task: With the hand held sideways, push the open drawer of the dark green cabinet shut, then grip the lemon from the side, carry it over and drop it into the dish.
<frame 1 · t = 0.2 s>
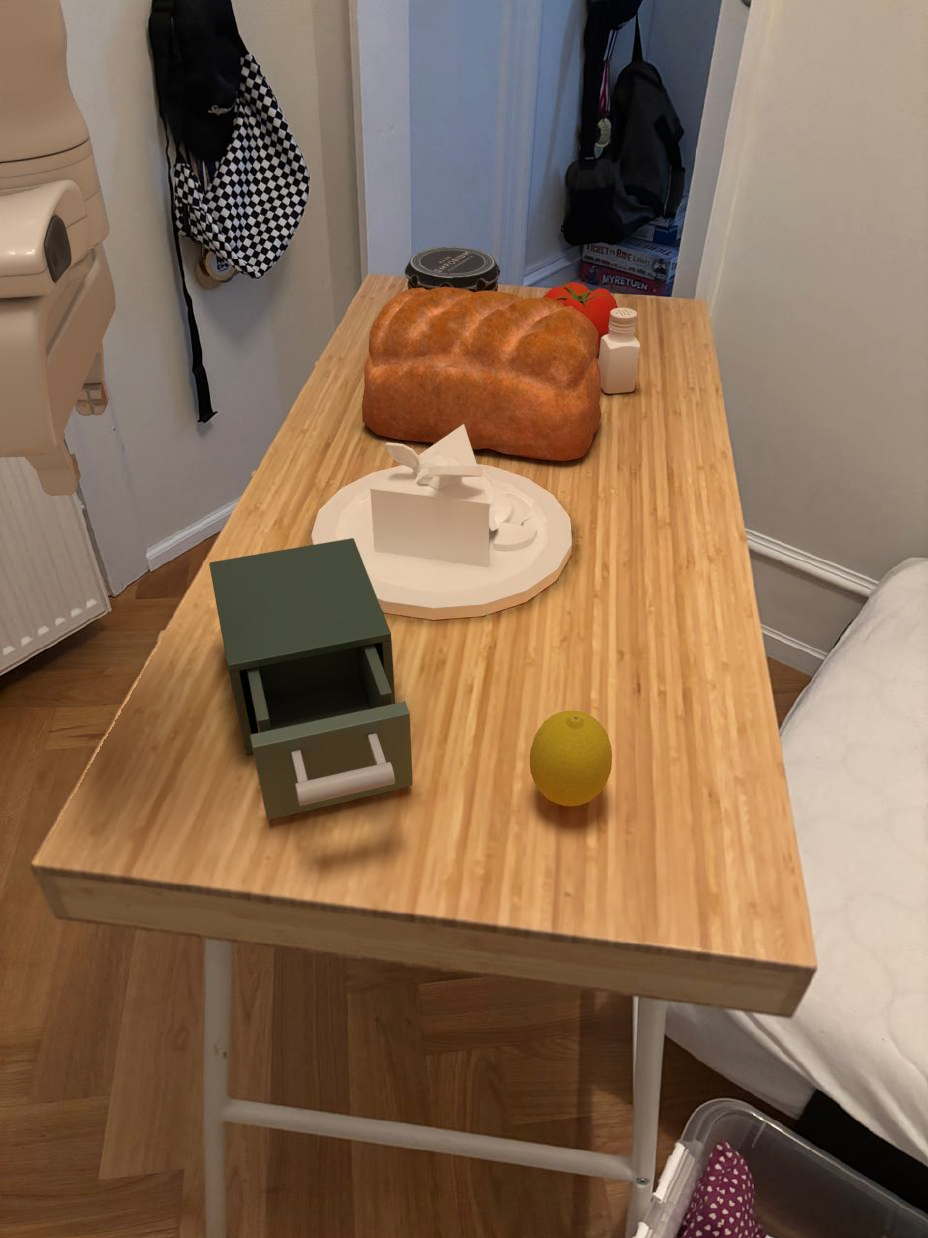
hand: (80, 447, 56), 24 cm above the table, tool pointing down, fingers open, 8 cm apart
cabinet: (307, 683, 75), on the table
lemon: (566, 799, 66), on the table
tomato: (575, 346, 126), on the table
bread: (481, 427, 108), on the table
pepper shaker: (614, 388, 116), on the table
drawer: (326, 729, 65), point 4 cm above the table, slide at 6.0 cm
dish: (442, 539, 91), on the table
container: (452, 334, 129), on the table
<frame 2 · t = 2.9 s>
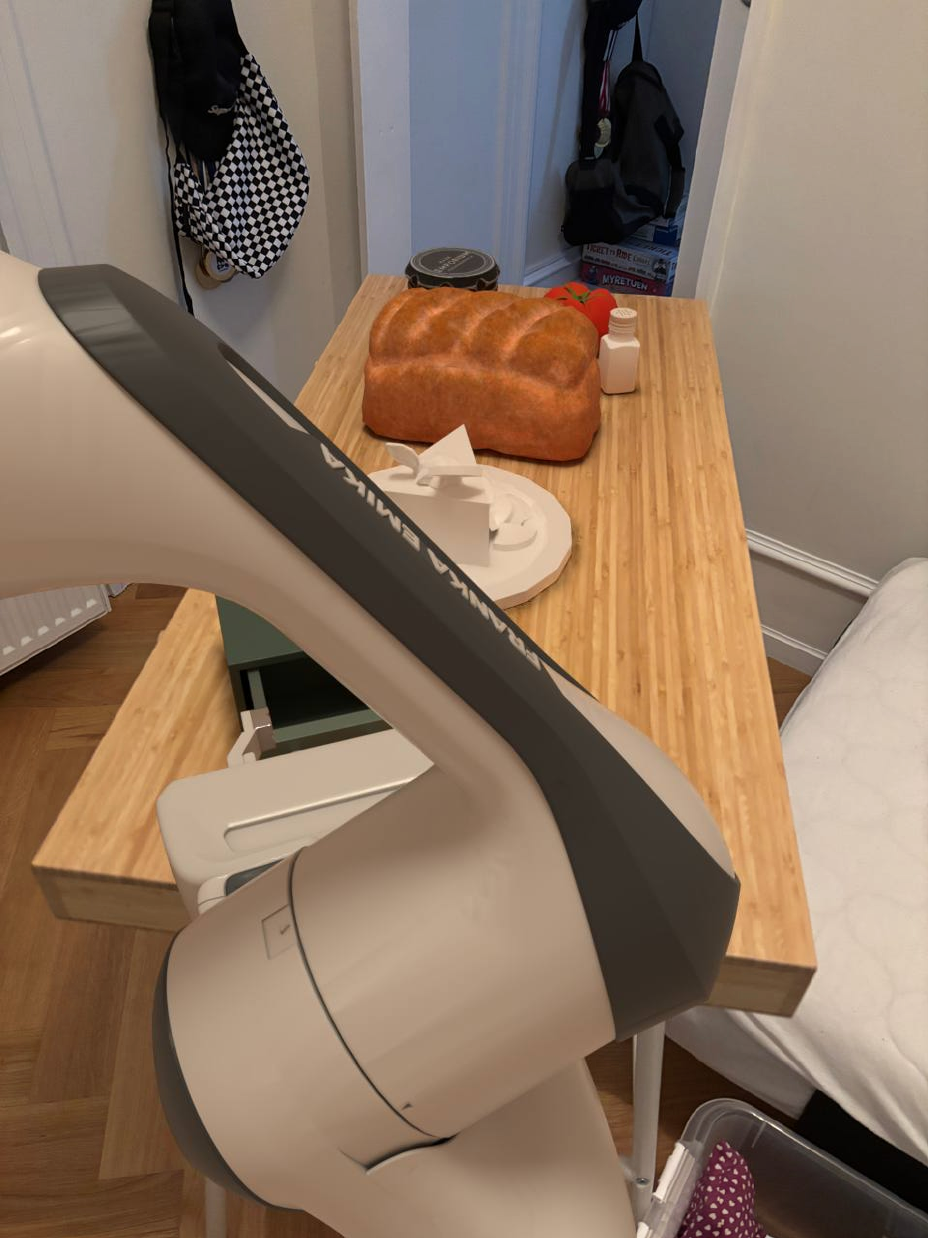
hand: (341, 698, 52), 15 cm above the table, tool horizontal, fingers open, 8 cm apart
nothing on the table moved.
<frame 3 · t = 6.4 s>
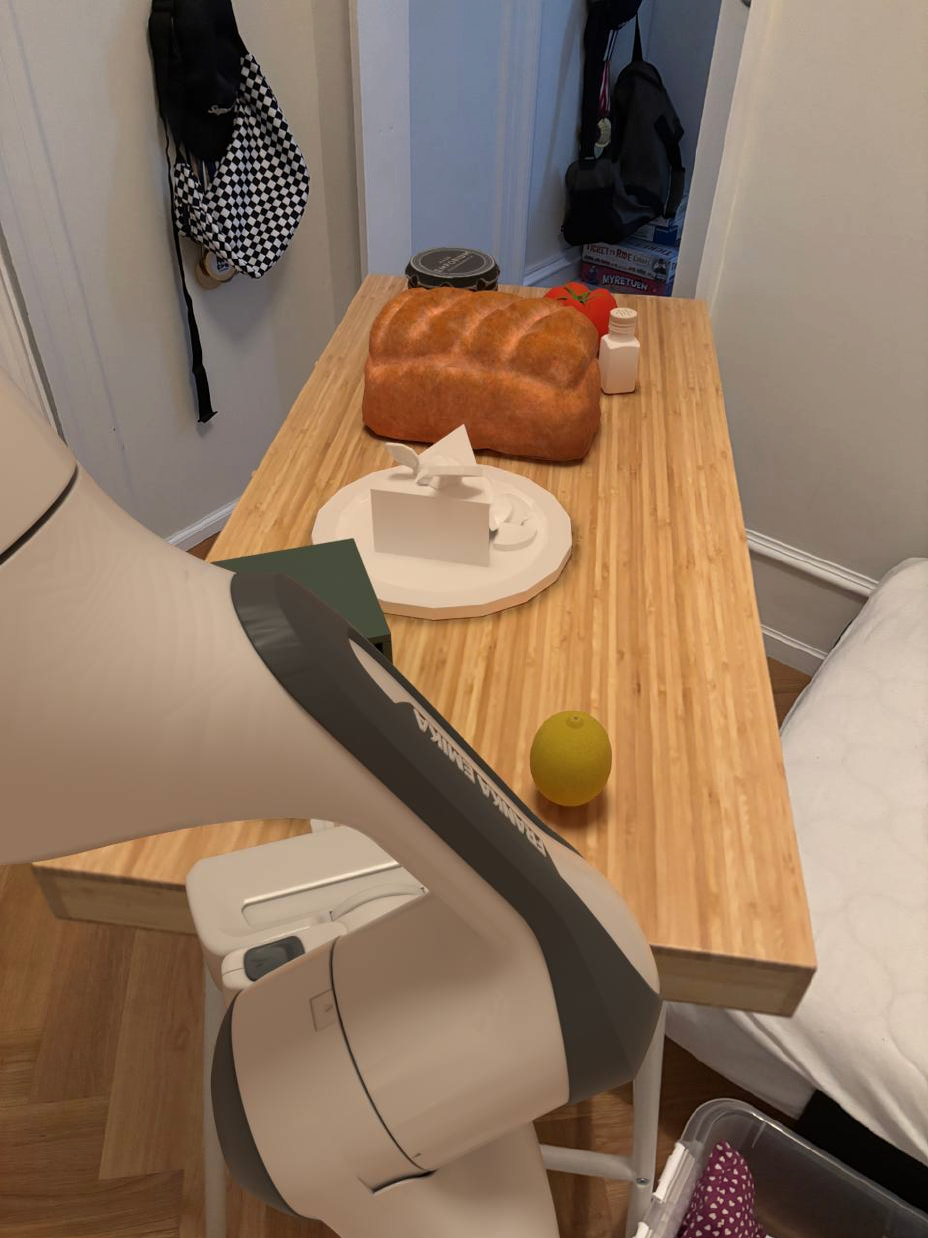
hand: (340, 781, 60), 5 cm above the table, tool horizontal, fingers closed
drawer: (322, 716, 66), point 4 cm above the table, slide at 4.7 cm
everything else where it was.
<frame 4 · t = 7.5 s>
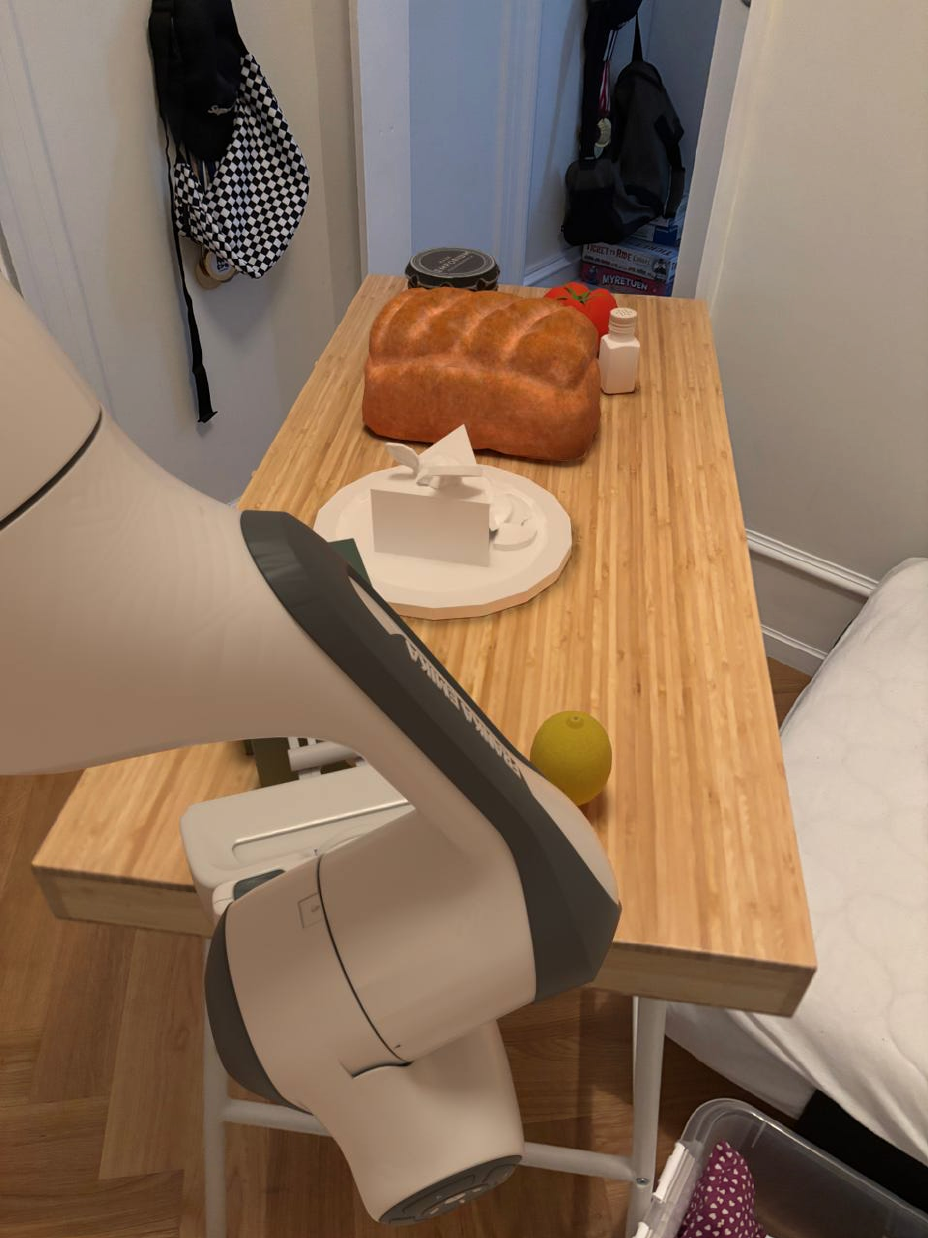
hand: (327, 735, 64), 5 cm above the table, tool horizontal, fingers closed, pressing on drawer
drawer: (318, 701, 67), point 4 cm above the table, slide at 3.1 cm, touching gripper
everything else where it was.
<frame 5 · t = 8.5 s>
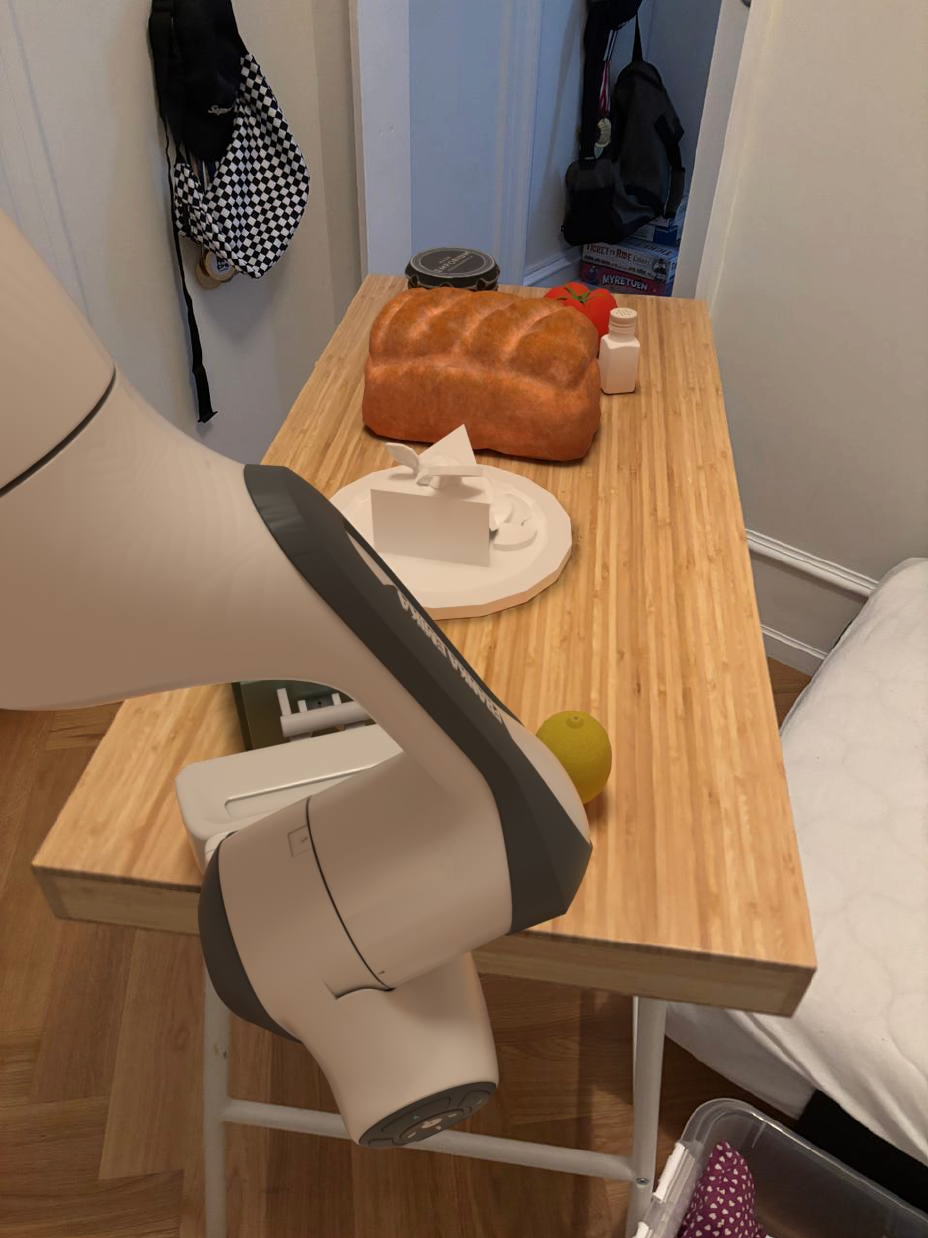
hand: (318, 703, 66), 5 cm above the table, tool horizontal, fingers closed, pressing on drawer
drawer: (310, 673, 69), point 4 cm above the table, slide at 0.0 cm, touching cabinet, gripper
everything else where it was.
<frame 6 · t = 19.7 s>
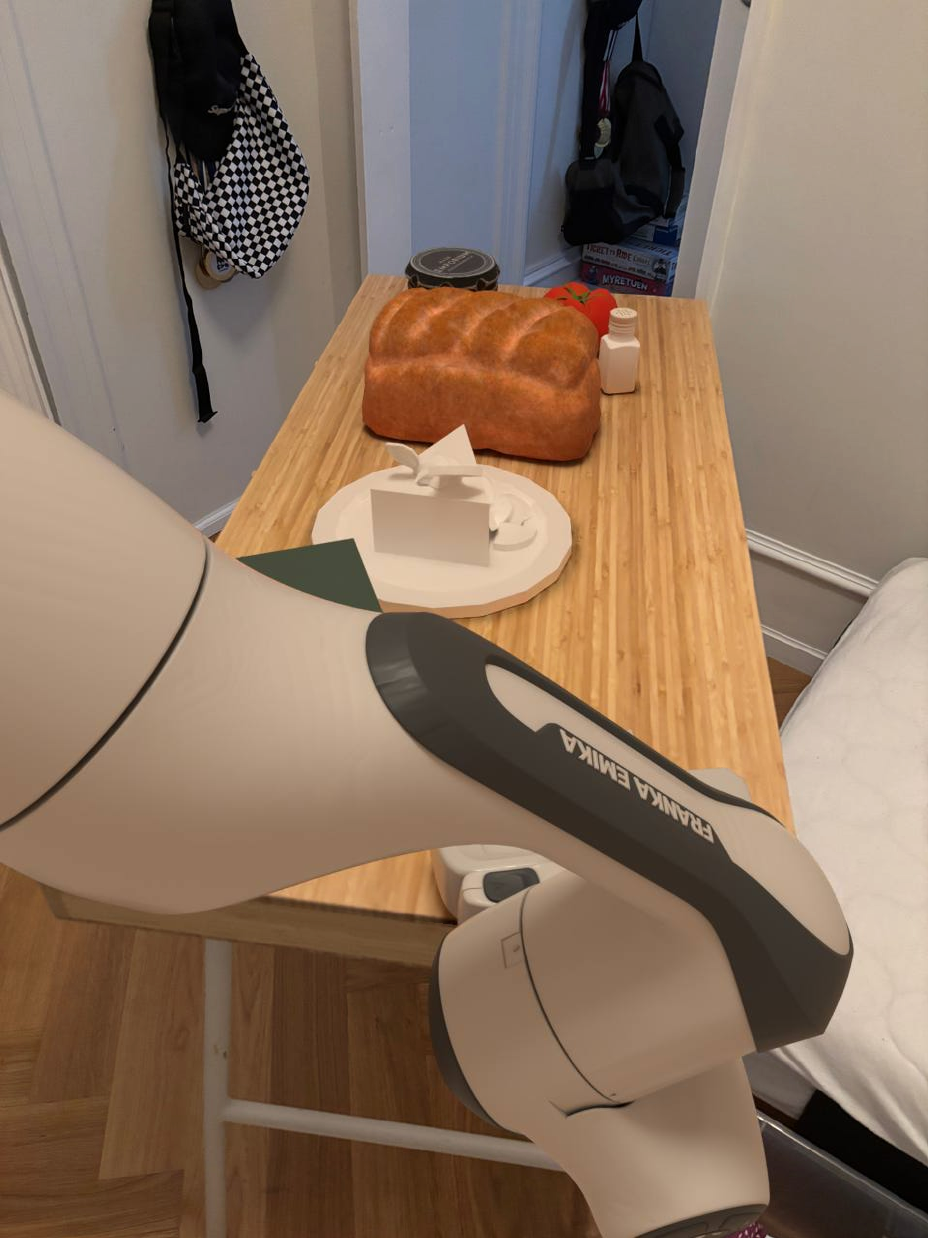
hand: (568, 739, 63), 5 cm above the table, tool horizontal, fingers closed on lemon, 5 cm apart
lemon: (566, 799, 66), on the table, touching gripper
drawer: (310, 673, 69), point 4 cm above the table, slide at 0.0 cm, touching cabinet
everything else where it was.
when the fingers open (15 cm above the table, at t = 27.3 s): lemon drops 6 cm, resting on cabinet, dish.
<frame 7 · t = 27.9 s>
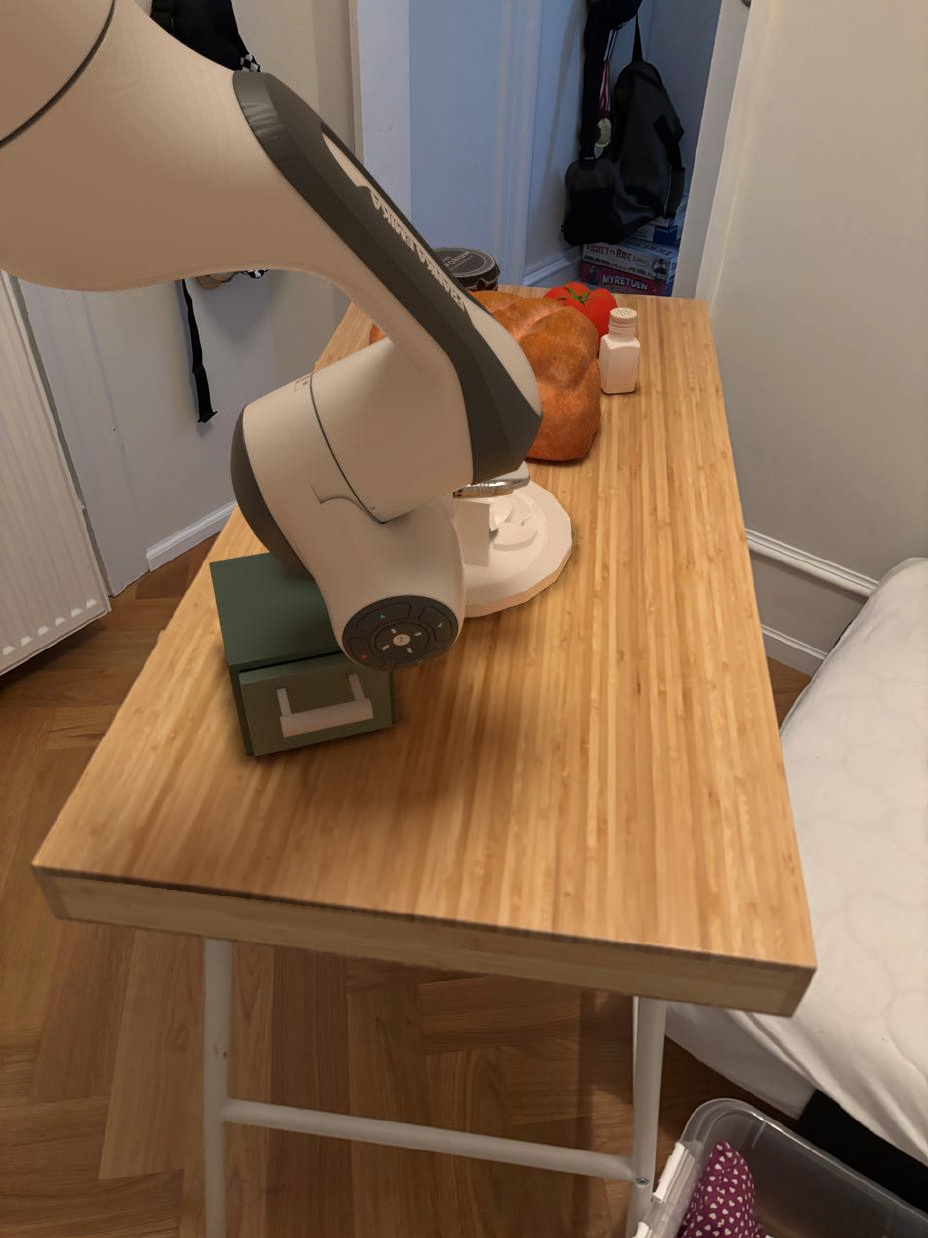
hand: (385, 408, 78), 16 cm above the table, tool horizontal, fingers open, 8 cm apart
lemon: (395, 541, 84), point 3 cm above the table, touching cabinet, dish
dish: (442, 539, 91), on the table, touching lemon
everything else where it was.
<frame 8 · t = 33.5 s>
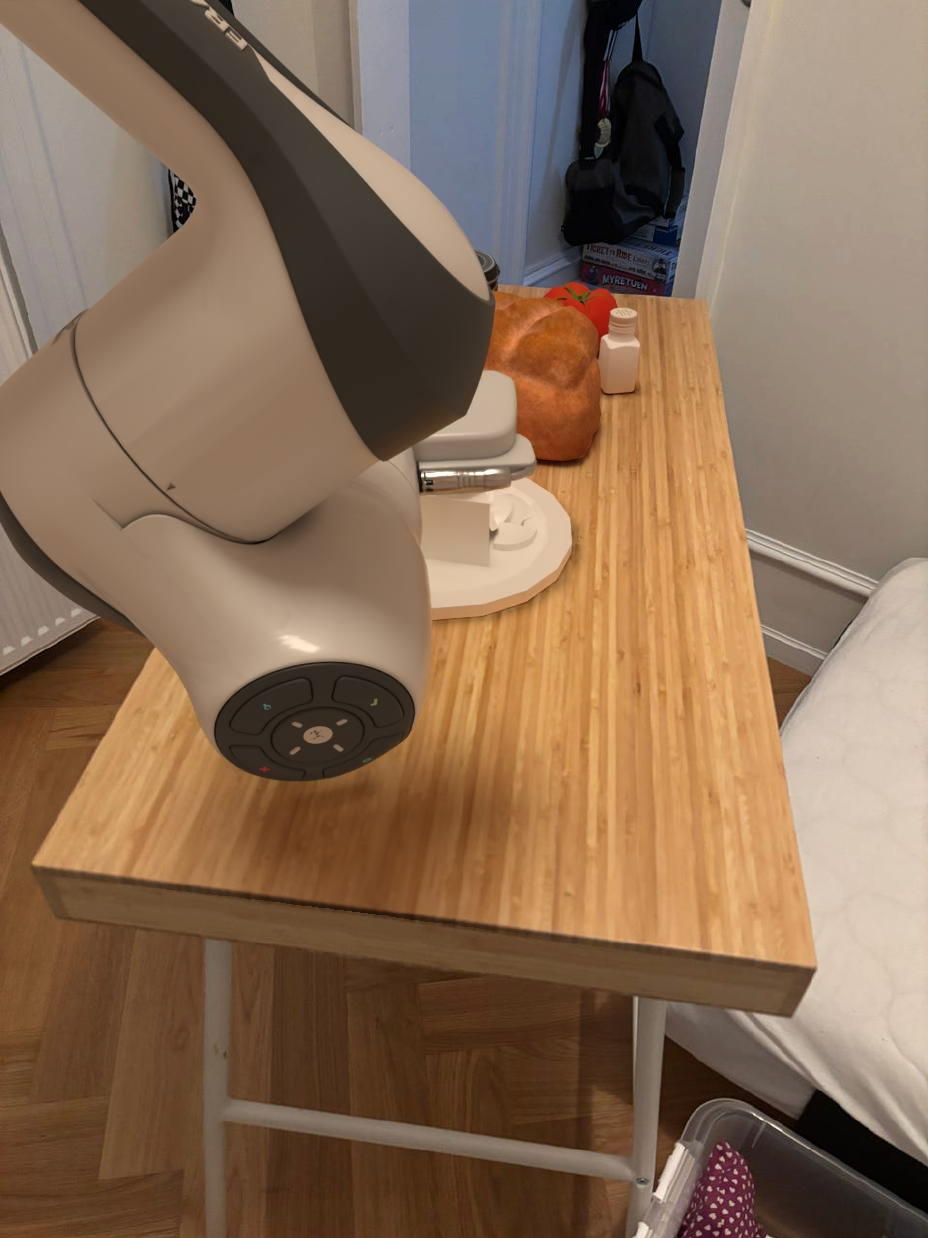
hand: (330, 367, 55), 28 cm above the table, tool horizontal, fingers open, 8 cm apart
nothing on the table moved.
at the end: drawer slide at 0.0 cm; lemon inside the target area in the dish (6.8 cm from its centre), point 3.4 cm above the dish's base; the gripper is holding nothing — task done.
